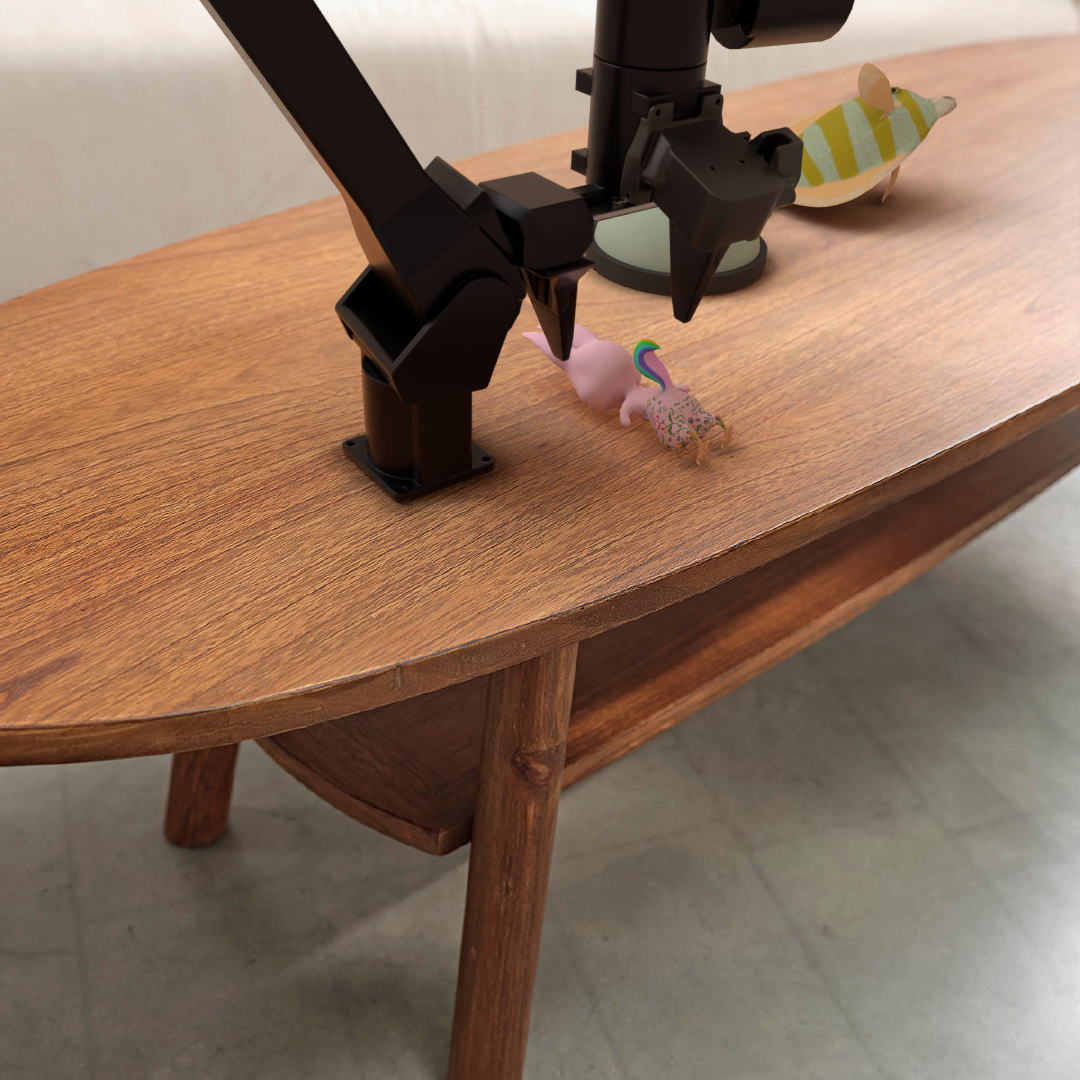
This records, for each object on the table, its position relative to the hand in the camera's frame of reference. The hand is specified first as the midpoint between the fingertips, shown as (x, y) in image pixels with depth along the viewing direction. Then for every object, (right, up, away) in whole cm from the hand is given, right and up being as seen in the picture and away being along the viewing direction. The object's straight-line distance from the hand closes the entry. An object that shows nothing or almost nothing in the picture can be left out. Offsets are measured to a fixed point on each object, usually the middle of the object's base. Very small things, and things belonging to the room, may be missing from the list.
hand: (623, 338), depth 65 cm
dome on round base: (+5, +6, +26) cm, 27 cm away
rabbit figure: (0, -4, +3) cm, 5 cm away
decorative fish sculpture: (+21, +19, +35) cm, 45 cm away
